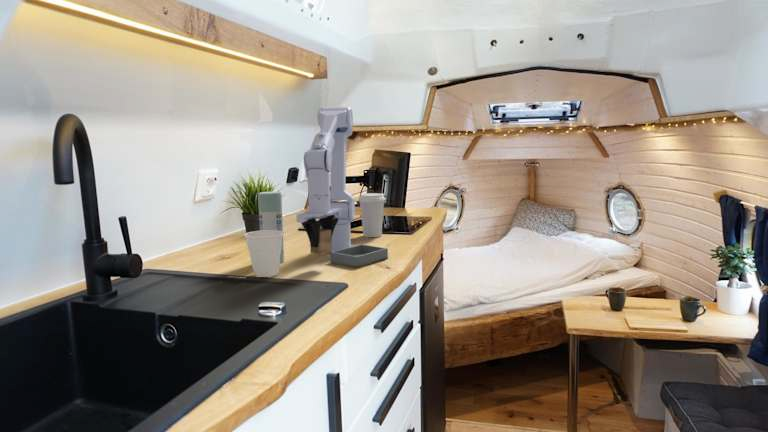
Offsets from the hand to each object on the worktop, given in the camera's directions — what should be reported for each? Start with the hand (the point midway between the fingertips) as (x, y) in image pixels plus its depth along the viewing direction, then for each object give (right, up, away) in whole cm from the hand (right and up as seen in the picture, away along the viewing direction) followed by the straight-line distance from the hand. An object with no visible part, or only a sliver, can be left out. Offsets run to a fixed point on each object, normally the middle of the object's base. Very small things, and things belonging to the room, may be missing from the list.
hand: (320, 245), depth 137 cm
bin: (+10, -5, +10) cm, 15 cm away
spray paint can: (-15, -6, +9) cm, 18 cm away
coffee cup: (+13, 0, +46) cm, 48 cm away
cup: (-14, -8, -4) cm, 16 cm away
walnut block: (0, -2, 0) cm, 2 cm away
